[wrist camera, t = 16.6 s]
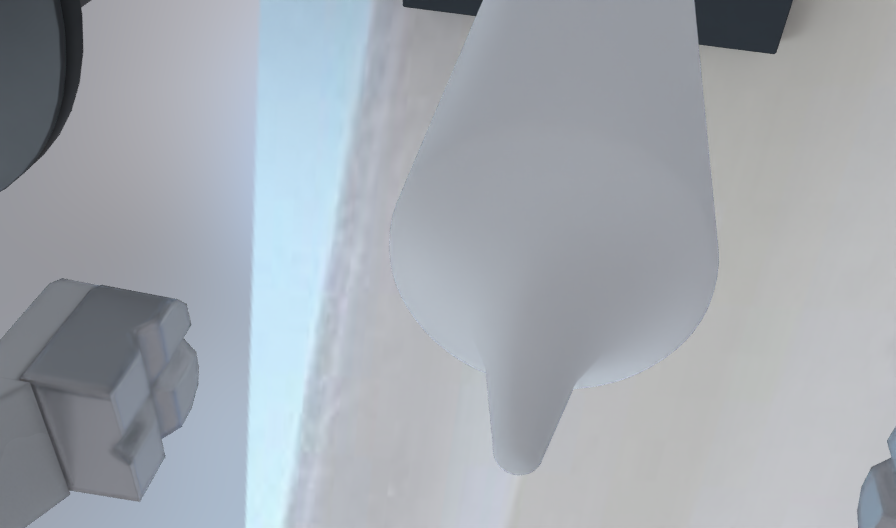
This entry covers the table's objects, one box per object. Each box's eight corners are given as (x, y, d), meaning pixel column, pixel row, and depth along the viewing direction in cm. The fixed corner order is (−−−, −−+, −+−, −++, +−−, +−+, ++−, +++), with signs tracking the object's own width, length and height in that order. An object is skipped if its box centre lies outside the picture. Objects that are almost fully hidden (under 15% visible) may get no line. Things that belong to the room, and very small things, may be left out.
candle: (576, 14, 31) (451, 680, 12) (464, -156, 29) (69, 359, 9) (760, -99, 28) (993, 583, 9) (653, -306, 25) (649, 23, 6)
